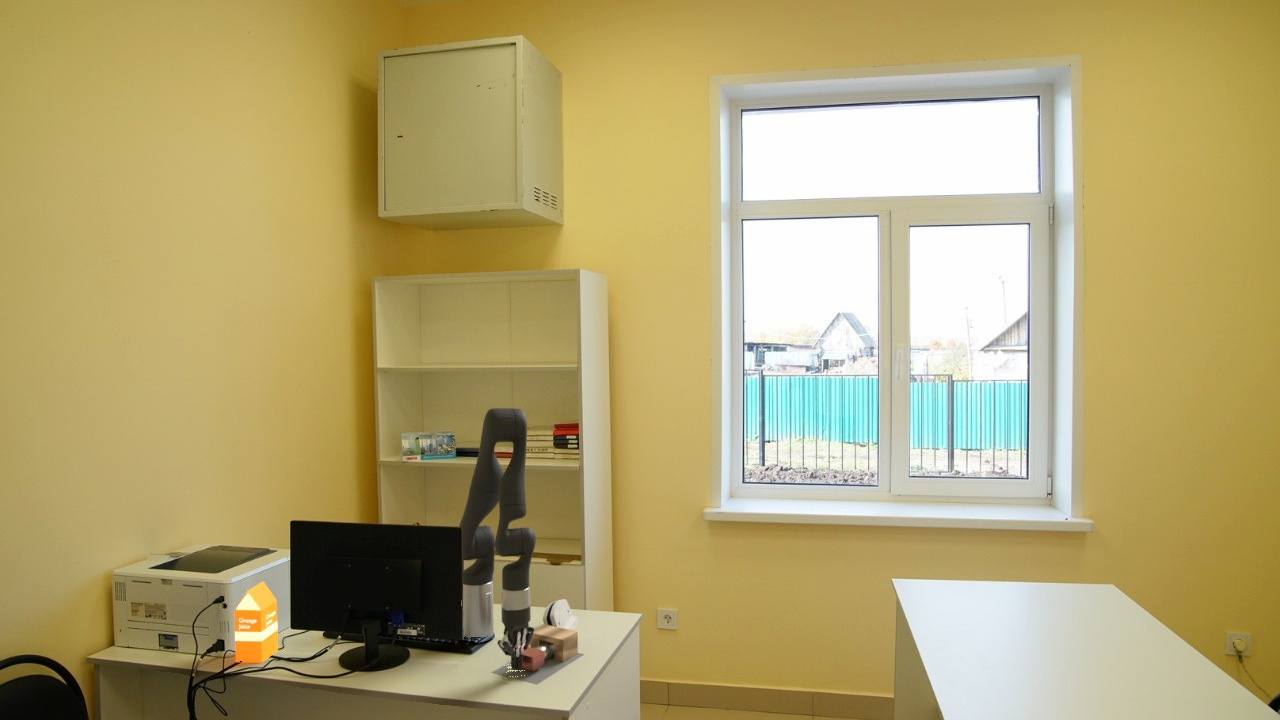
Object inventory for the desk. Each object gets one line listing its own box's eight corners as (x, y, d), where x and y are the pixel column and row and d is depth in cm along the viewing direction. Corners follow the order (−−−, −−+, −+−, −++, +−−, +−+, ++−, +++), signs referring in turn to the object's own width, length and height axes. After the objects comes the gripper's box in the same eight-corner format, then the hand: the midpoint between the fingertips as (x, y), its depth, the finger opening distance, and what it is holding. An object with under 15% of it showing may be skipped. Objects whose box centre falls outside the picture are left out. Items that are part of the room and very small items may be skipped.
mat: (491, 673, 217) (491, 672, 217) (541, 644, 236) (541, 644, 236) (537, 685, 209) (537, 684, 209) (584, 654, 228) (584, 654, 228)
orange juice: (235, 662, 225) (233, 590, 224) (252, 649, 234) (250, 580, 233) (262, 662, 225) (260, 591, 224) (278, 650, 233) (277, 581, 233)
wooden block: (530, 654, 228) (530, 632, 228) (545, 646, 234) (545, 624, 234) (563, 662, 223) (563, 639, 223) (577, 653, 229) (577, 631, 229)
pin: (533, 674, 215) (532, 657, 214) (512, 669, 218) (512, 652, 218) (565, 654, 228) (565, 638, 228) (546, 649, 231) (546, 633, 231)
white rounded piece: (565, 642, 238) (554, 610, 238) (550, 647, 238) (539, 614, 239) (579, 622, 254) (568, 591, 254) (565, 626, 255) (554, 596, 255)
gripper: (520, 594, 221) (521, 657, 222) (488, 609, 210) (489, 675, 210) (542, 599, 217) (543, 662, 218) (511, 614, 206) (511, 681, 207)
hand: (516, 668), depth 214 cm, fingers closed
